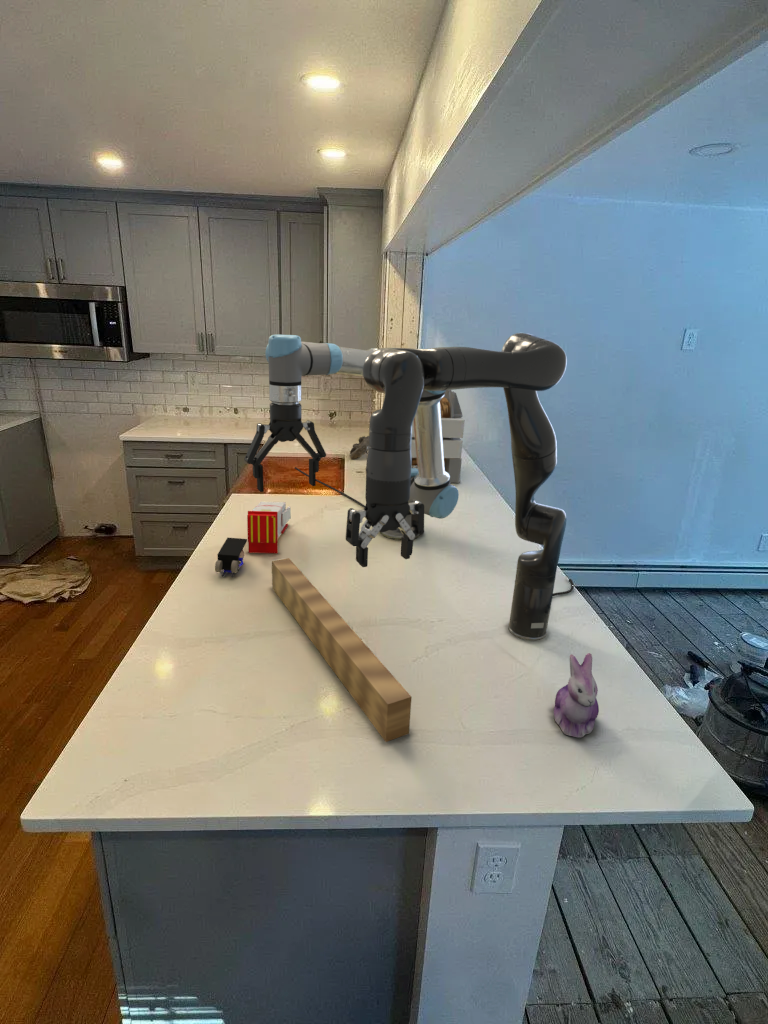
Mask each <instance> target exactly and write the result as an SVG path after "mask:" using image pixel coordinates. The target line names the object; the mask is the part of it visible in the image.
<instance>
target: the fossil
mask: <svg viewBox="0 0 768 1024" xmlns="http://www.w3.org/2000/svg"><path fill="white" fill-rule="evenodd" d="M368 447H369V435H367V436H365V435H364V436H360V437H359V438H358V442H357V443H353V444H352V447H351V449H350V452H349V457H350V459H351V460H356V459H359V458H361V457H362V456H363V455H365V454H368Z"/></svg>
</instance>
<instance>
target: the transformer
mask: <svg viewBox="0 0 768 1024" xmlns="http://www.w3.org/2000/svg"><path fill="white" fill-rule="evenodd" d="M440 412H441V426H442V440H443V454H444V468H445V471H446V472H447V473H448V474H449V475H450V484H455V483H456V484H459V483H461V472H462V461H463V460H462V453H463V442H464V441H463V440H462V439H463V438H464V431H465V430H464V429H465V419H464V418H463V411H462V408H461V405H460V402H459V398H458V395H457V392H455V391H454V390H446V391H445V392H444V397H443V398H442V399H441V400H440ZM411 457H412V466H413V467H415V466H416V467H418V466H417V456H416V446H415V435H414V425H413V423H412V442H411Z"/></svg>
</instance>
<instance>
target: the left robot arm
mask: <svg viewBox="0 0 768 1024" xmlns="http://www.w3.org/2000/svg"><path fill="white" fill-rule="evenodd" d="M377 349H381V348H378V347H371V348H368V349H367V350H366V349H359V348H351V347H346V346H345V347H344V346H338V345H337V344H335V343H330V342H311V341H302V337H300V335H296V334H278V333H277V334H271V335H270V336H269V337H268V342H267V345H266V348H265V359H266V361H267V365H268V394H269V397H268V400H269V401H270V403H269V423H268V424H263V423H262V422H257V423H256V430H255V433H254V435H253V439H252V440H251V443H250V446H249V448H248V450H247V452H246V454H245V457H244V462H246V463H247V464H248V465H252V476H253V478H254V479H256V488H257V491H259V492H260V493H264V491H265V489H264V488H265V487H264V466H263V464H261V463H262V462H263V460H264V459H266V457H267V455H268V454H269V453H270V451H271V450H272V449H273V448H274V446H275V445H277V444H278V442H281V443H285V442H295V440H296V441H297V442H298V443H299V445H300V446H301V447H302V448H303V449H304V450H305V451H306V452H307V454H308V455H309V456H310V457H311V458H308V474H307V473H306V472H304V471H302V470H301V469H299V468H298V467H296V466H295V467H294V470H296V471H297V472H299V473H301V474H302V475H304V476H306V477H308V484H309V485H310V486H312V487H316V485H317V484H316V483H319V484H320V485H323V486H325V487H327V488H329V489H330V490H333V491H335V492H337V493H339V494H340V495H342V496H344V497H346V498H348V499H349V500H351V501H352V502H355V503H356V504H358V505H360V506H361V507H363V509H364V508H365V505H366V504H364V503H362V502H360V501H358V500H357V499H356V498H353V497H352V496H350V495H349V494H346V493H345V492H343V491H340V490H339V489H337V488H335V487H333V486H331V485H329V484H327V483H325V482H323V481H321V480H319V479H317V477H316V476H317V473H319V472H320V461H321V460H322V459H323V458H326V457H327V453H326V450H325V449H324V446H323V445H322V442H321V440H320V438H319V436H318V434H317V432H316V429H315V423H314V421H311V420H310V419H308V420H306V421H302V419H303V418H302V415H303V414H302V404H301V402H302V378H303V377H306V376H307V377H308V376H329V375H341V376H351V377H352V376H353V377H362V378H364V377H363V365H364V362H365V360H366V358H367V357H368V356H369V355H370V354H371V353H372V352H374V351H375V350H377ZM445 391H446V390H445ZM445 391H429V390H423V392H422V395H421V398H420V402H419V405H418V408H417V412H416V415H415V417H414V420H413V425H414V435H415V446H416V456H417V466H416V467H417V468H416V467H411V483H410V498H409V501H408V503H412V501H413V500H417V501H419V502H421V503H422V504H424V515H427V516H429V517H430V518H436V519H438V520H439V519H440V520H441V519H445V518H447V517H448V516H450V515H451V514H452V513H453V511H454V510H455V508H456V507H457V505H458V501H459V495H460V493H459V489H458V488H457V487H456V486H455V485H453V484H452V483H450V475H449V474H448V473H447V472H446V471H445V468H444V454H443V440H442V426H441V412H440V400H441V399H442V398H443V397H444V392H445ZM268 430H269V432H270V435H269V436H268V437H267V440H266V441H265V442H264V444H263V445H262V446H261V444H262V442H263V439H264V436H265V435H266V433H267V432H268ZM303 430H305V431H306V432H307V434H308V436H309V438H310V440H311V442H312V445H313V446H314V448H315V450H316V451H315V450H314V449H313V447H312V446H311V445H310V444H309V443H308V442H307V440H306V439H305V438H304V437H303V436H302V435H301V432H302V431H303ZM260 446H261V448H260ZM259 448H260V449H259ZM258 450H259V451H258ZM405 520H406V522H407V523H408V525H409V526H410V527H411V513H410V511H409V513H408V514H407V516H406V517H405ZM379 534H380V535H381V536H382V537H385V538H387V539H389V540H395V541H401V537H402V536H404V535H403V534H402V532H401V531H400V530H399V528H397V530H393V531H392V530H388V531H386V532H379ZM421 536H422V535H417V536H415V538H414V539H413V540H415V539H418V538H420V537H421Z"/></svg>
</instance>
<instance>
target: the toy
mask: <svg viewBox="0 0 768 1024" xmlns="http://www.w3.org/2000/svg"><path fill="white" fill-rule="evenodd" d="M286 505H287V503H286V501H262V500H261V501H260V502H258V503H257V504H256V505H255V506H254V508H253V509H251V510H247V515H246V516H247V517H246V521H247V524H246V527H247V528H246V529H247V548H248V549H247V550H248V553H249V554H278V551H279V548H278V547H279V544H278V543H279V541H278V540H279V538H280V536H281V535H283V534H284V533H285V532H286V530H287V529H288V527H289V523H288V522H289V521H290V520H291V517H292V515H291V514H292V513H291V506H290V505H288V506H287V507H286Z"/></svg>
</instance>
